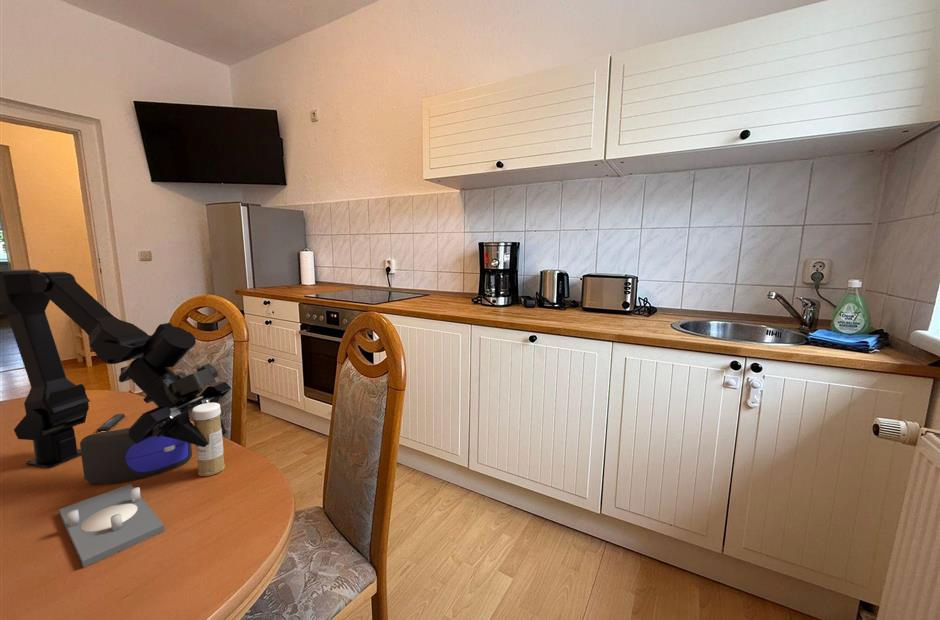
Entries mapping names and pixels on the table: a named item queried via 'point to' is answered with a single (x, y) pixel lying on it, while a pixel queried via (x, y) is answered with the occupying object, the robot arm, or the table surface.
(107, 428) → the usb stick
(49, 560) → the table surface
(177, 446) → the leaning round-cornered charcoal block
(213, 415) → the sprinkles bottle
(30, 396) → the robot arm
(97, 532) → the pin board
